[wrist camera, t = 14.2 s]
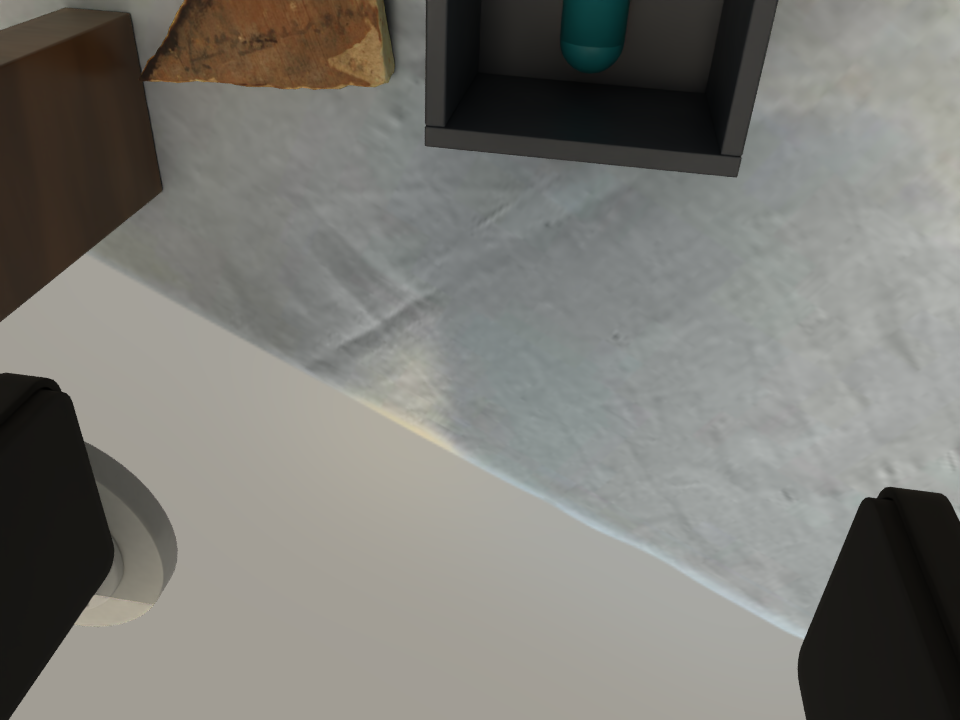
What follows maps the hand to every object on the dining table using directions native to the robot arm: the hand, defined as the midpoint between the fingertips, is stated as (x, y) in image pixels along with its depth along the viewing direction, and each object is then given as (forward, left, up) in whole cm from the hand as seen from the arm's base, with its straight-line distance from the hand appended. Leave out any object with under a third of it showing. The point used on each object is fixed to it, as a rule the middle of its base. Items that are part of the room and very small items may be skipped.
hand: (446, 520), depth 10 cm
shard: (-11, -1, -27) cm, 30 cm away
